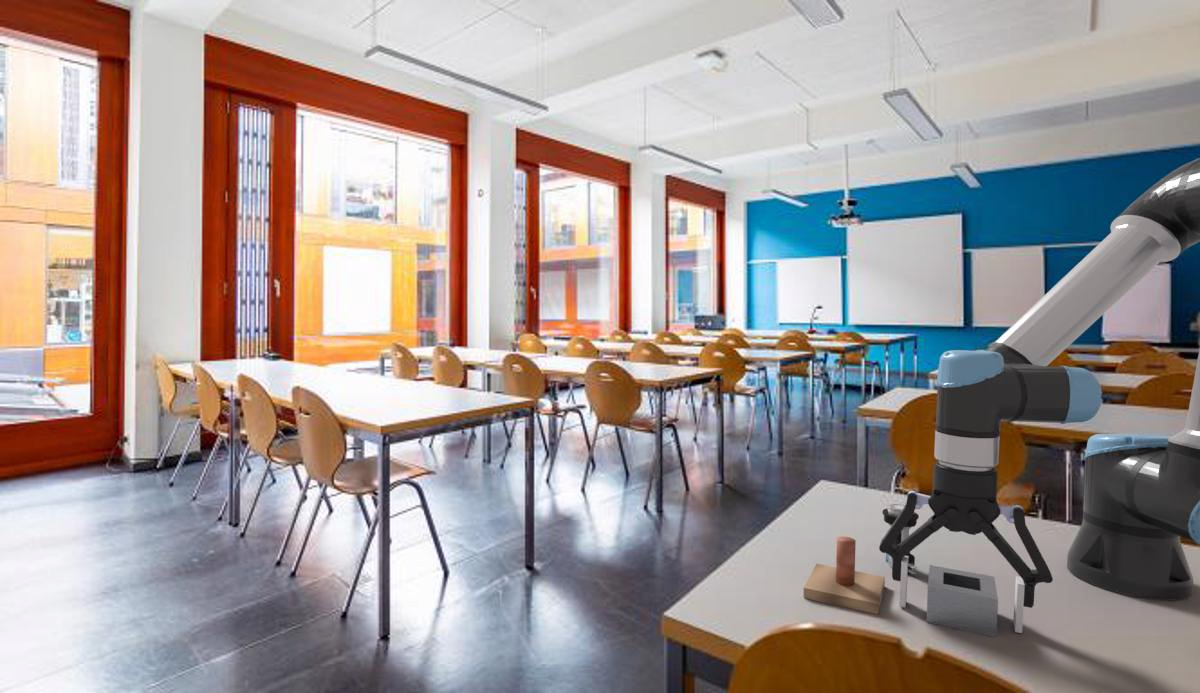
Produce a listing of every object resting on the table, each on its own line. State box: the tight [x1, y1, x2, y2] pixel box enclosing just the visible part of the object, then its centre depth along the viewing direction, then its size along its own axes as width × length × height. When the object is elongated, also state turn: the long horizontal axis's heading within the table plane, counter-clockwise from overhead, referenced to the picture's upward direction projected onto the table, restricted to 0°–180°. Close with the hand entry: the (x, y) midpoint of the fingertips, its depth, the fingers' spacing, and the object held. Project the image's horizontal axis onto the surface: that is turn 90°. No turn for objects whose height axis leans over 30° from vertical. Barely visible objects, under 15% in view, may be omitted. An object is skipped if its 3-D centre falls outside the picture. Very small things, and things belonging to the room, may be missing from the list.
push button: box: [882, 503, 919, 575], centre depth 102 cm, size 7×5×10 cm
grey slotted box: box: [926, 564, 999, 638], centre depth 86 cm, size 8×8×5 cm
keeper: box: [803, 536, 886, 615], centre depth 93 cm, size 10×10×8 cm
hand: (958, 615), depth 86 cm, fingers open, 13 cm apart
